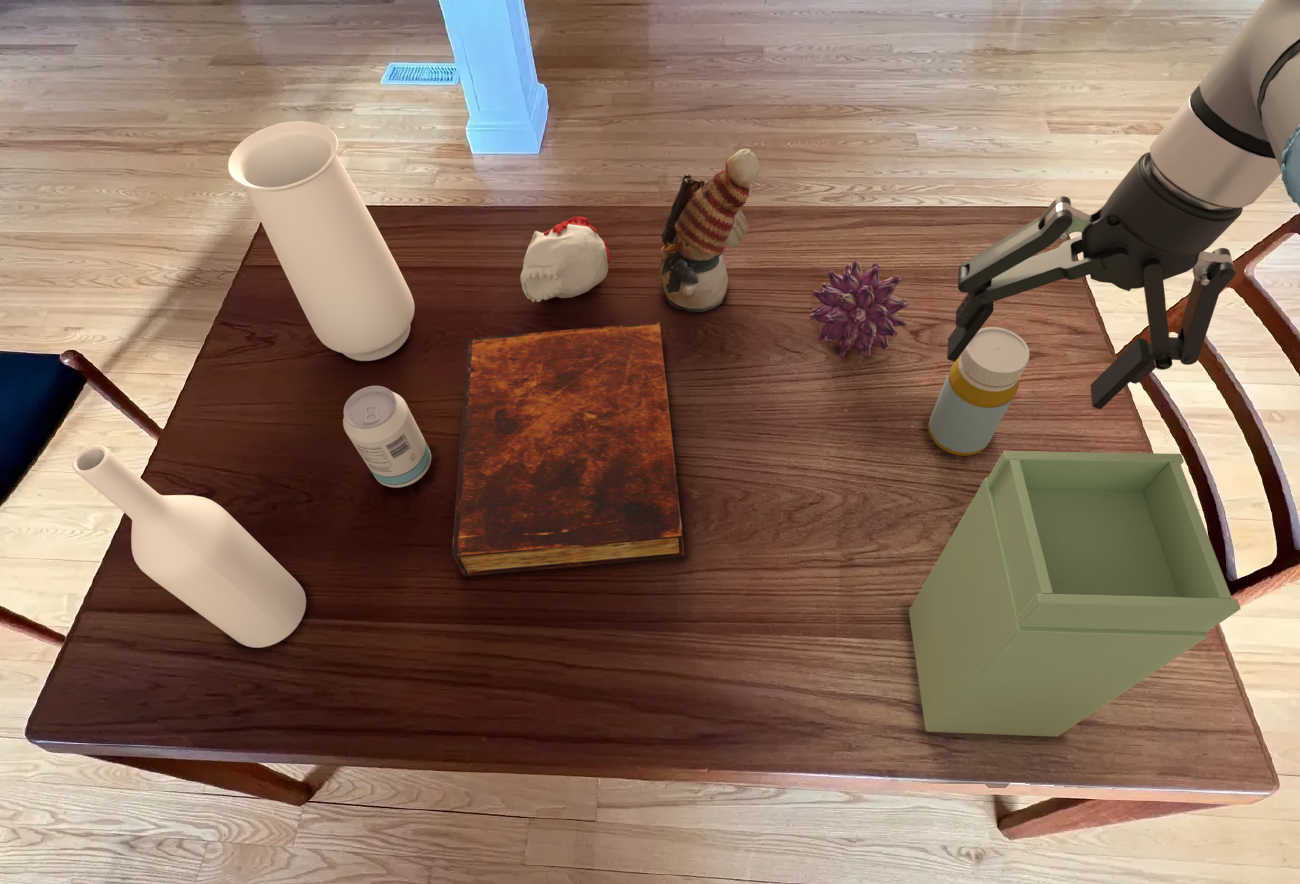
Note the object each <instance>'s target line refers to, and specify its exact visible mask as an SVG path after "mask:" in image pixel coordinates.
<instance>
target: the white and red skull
mask: <svg viewBox="0 0 1300 884" xmlns="http://www.w3.org/2000/svg"><path fill="white" fill-rule="evenodd" d="M591 224H592V223H591V221H590V220H589V219H588V218H587V217H584V216H577V215H574V216H573V217H571V218H569V219H567V220H564V221H562V222H560V223H557V224H555V225H554V227H552V228H550V229H548V230H546V231H544V232H541V231H538V230H535V231H533V234H532V237H531V240H530V243H529V244H528V247H527V249H526V252H525V256H524V257H523V265H522V271H521V273H520V278H519V279H520V283H521V289H522V292H523V294H524V296H525V297H526V299H527V300H531V302H532V303H534V302H536V303H541V301H542V300H544V301H547V300H551V299H553V298H554V299H555V298H560V299H569V298H570V299H571V298H575V297H579V296H580V295H583V294H585V293H587V292H589V291H590V290H592V289H593V288H594V287H596V286H597V285H599V284H600V283H601V282H603V281H604V280H605V278H606V277H607V275H608V272H609V264H610V263H611V253H610V248H609V247H608V243H607V242H606V241H605V240H603V239H602V238H601V237H600V236H599V235H598V231H597V229H596V228H595V226H592V225H591Z"/></svg>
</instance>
